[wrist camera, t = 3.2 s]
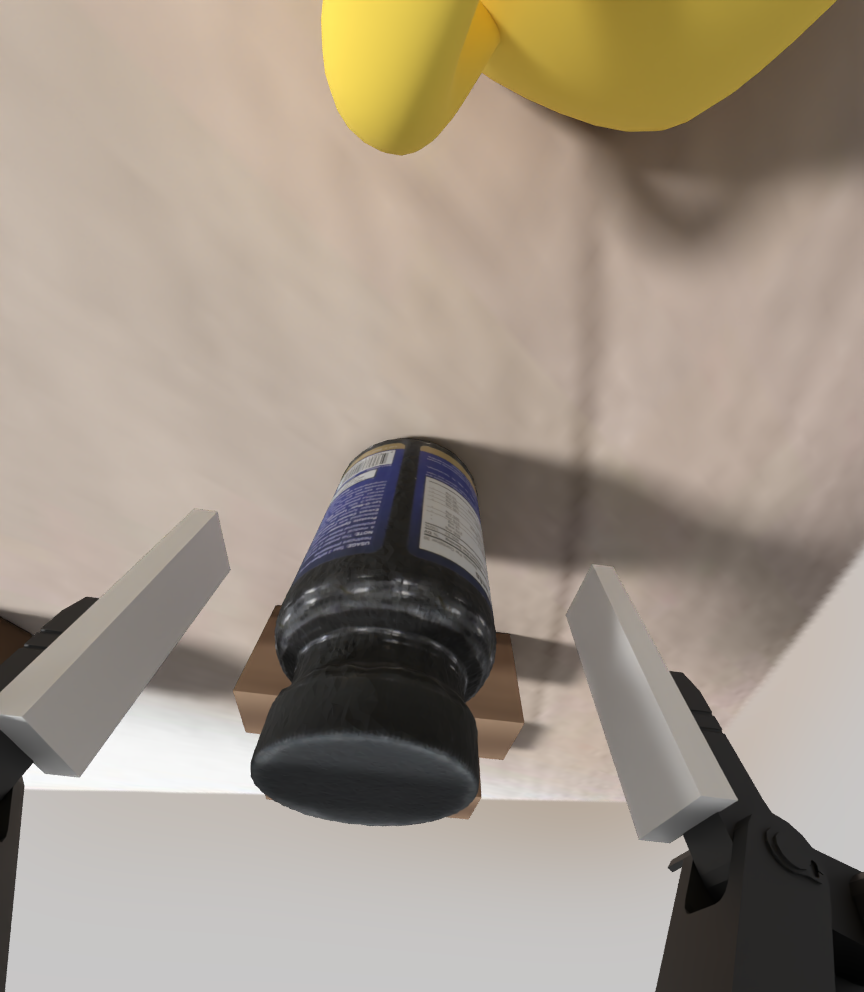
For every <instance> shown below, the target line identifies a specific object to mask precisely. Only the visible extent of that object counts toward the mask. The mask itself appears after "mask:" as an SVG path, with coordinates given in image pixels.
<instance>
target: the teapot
mask: <svg viewBox="0 0 864 992" xmlns="http://www.w3.org/2000/svg"><path fill="white" fill-rule="evenodd" d="M836 1H837V0H323V5H322V17H321V27H322V50H323V58H324V67H325V74H326V77H327V80H328V83H329V87H330V90H331V93H332V96H333V99H334V102H335V105H336V108H337V110H338V112H339V114H340V115H341V117H342V118H343V120H344V121H345V123H346V125H347V126H348V128H349V129H350V130H351V131H352V132H354V133H355V134H356V135H357V136H358V137H359V138H360V139H361V140H362V141H363V142H364V143H366V144H368V145H370V146H372V147H374V148H376V149H378V150H380V151H382V152H385V153H389V154H396V155H406V154H410V153H414V152H416V151H418V150H420V149H422V148H423V147H425V146H426V145H428V144H429V143H431V142H432V141H433V140H434V139H435V138H436V137H437V136H438V135H439V134H440V133H441V132H442V130H443V129H444V128H445V127H446V125H447V124H448V123H449V122H450V121H451V120H452V118H453V117H454V116H455V114H456V113H457V111H458V110H459V108H460V107H461V105H462V104H463V102H464V100H465V99H466V97H467V96H468V94H469V92H470V91H471V89H472V88H473V86H474V84H475V83H476V81H477V79H478V78H479V76H480V75H481V73H483V74H485V75H486V76H487V77H489V78H490V79H492V80H493V81H495V82H497V83H499V84H500V85H502V86H504V87H506V88H508V89H510V90H511V91H513V92H515V93H517V94H519V95H521V96H522V97H524V98H526V99H528V100H531V101H533V102H535V103H537V104H540V105H542V106H544V107H547V108H549V109H551V110H553V111H556V112H558V113H560V114H563V115H566V116H569V117H572V118H575V119H578V120H581V121H584V122H586V123H589V124H592V125H595V126H600V127H605V128H610V129H615V130H621V131H626V132H636V131H662V130H666V129H668V128H671V127H674V126H677V125H680V124H683V123H685V122H688V121H689V120H691V119H693V118H694V117H696V116H697V115H699V114H701V113H702V112H704V111H705V110H707V109H708V108H710V107H712V106H713V105H715V104H716V103H718V102H720V101H721V100H723V99H724V98H726V97H727V96H729V95H731V94H732V93H733V92H735V91H736V90H737V89H738V88H740V87H741V86H742V85H744V84H745V83H746V82H747V81H749V80H750V79H751V78H752V77H754V76H755V75H756V74H757V73H759V72H760V71H761V70H762V69H763V68H764V67H766V66H767V65H768V64H769V63H770V62H771V61H772V60H773V59H775V58H776V57H777V56H778V55H779V54H780V53H781V52H783V51H784V50H785V49H786V48H787V47H788V46H789V45H791V44H792V43H793V42H794V41H795V40H796V39H797V38H798V37H799V36H800V35H801V34H802V33H803V32H804V31H805V30H807V29H808V28H809V27H810V26H811V25H812V24H813V23H814V22H815V21H816V20H817V19H818V18H819V17H820V16H821V15H822V14H823V13H824V12H825V11H826V10H827V9H829V8H830V7H831V6H832V5H833V4H834V3H835V2H836Z"/></svg>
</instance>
